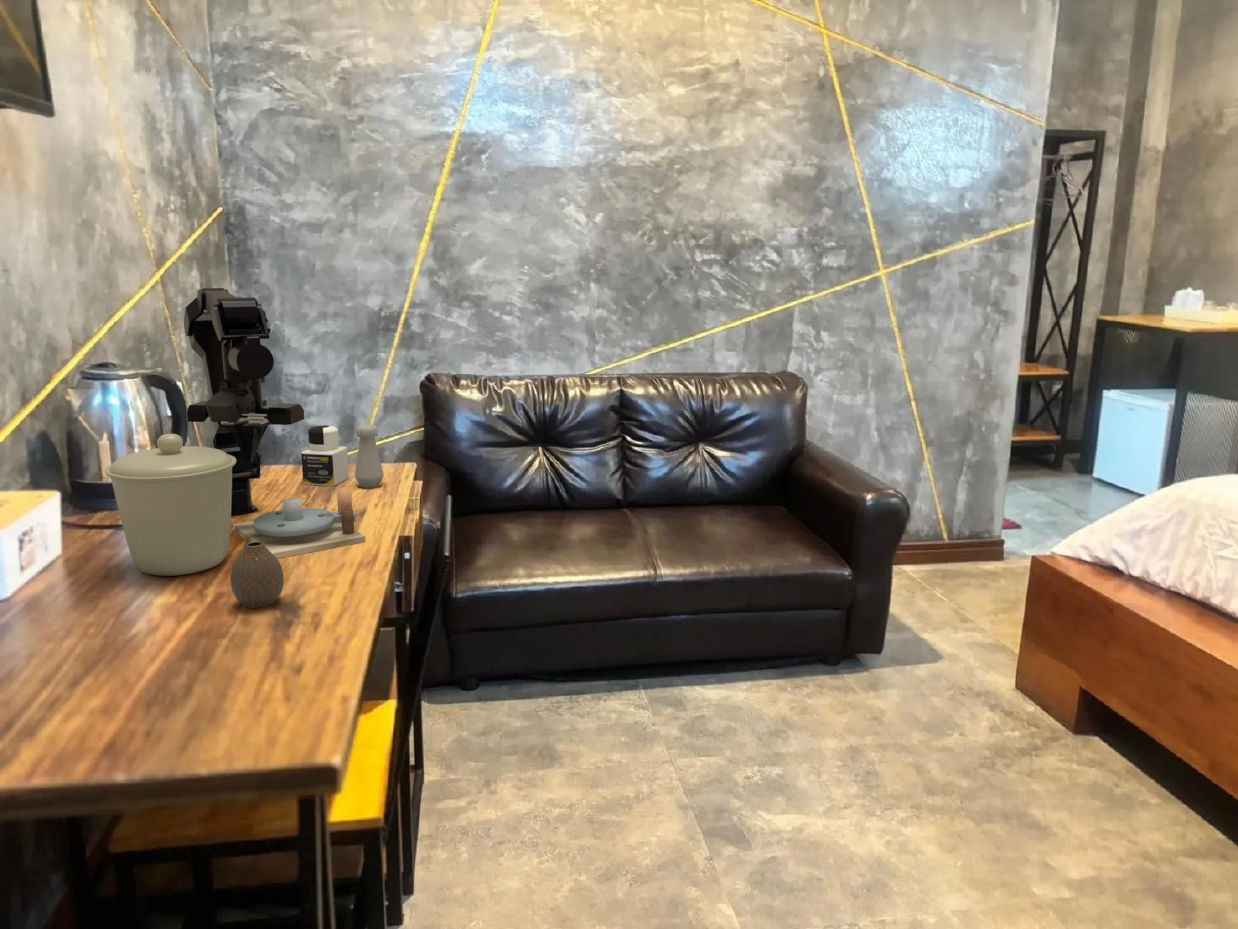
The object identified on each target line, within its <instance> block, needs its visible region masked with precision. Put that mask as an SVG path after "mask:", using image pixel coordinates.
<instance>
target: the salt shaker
mask: <svg viewBox="0 0 1238 929" xmlns="http://www.w3.org/2000/svg"><path fill="white" fill-rule="evenodd" d="M355 432H356V436H357V438H359V439H358V440H359V441H358V448H357V456H356V464H355V473H354V478H355V479H356V481H357V483H358V485H359V487H360V488H362V489H374V488H379V487H380V484H381V482H382V480H383V478H384V475H385V473H384V471H383V466H382V462H381V458H380V454H379V450H378V447H377V441H376V438H375V437H377V436H378V435H379V430H378V427H377V426H376V425H374V424H361V425H359V426H357V428H356V430H355Z"/></svg>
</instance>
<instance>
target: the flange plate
mask: <svg viewBox="0 0 1238 929" xmlns="http://www.w3.org/2000/svg"><path fill="white" fill-rule="evenodd" d="M336 499H337V502H336V503H337V511H329V510H327V509H324V508H323V509H322V508H317V507H303V499H302V498H300V497H289V498H286V499H284V500H283V501H282V502H283V503H282V504H283V509H279V510H273V511H270V512H266V513H263V514H261V515H258V516H257V517H255V518H254V520H253V526H254V531H255V532H257V533H259V534H262V535H267V536H279V537H286V536H299V535H306V534H312V533H316V532H320V531H323V530H325V529H328V528H329V527H331V526H332V525H333V524H335V523H342V520H341V510H343V509H353V500H352V499H353V498H352V490H339V491H337V492H336ZM353 517H354V523H355V522H356V521H357V520H356V513H355V511H354V510H353Z"/></svg>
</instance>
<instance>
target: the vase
mask: <svg viewBox="0 0 1238 929" xmlns="http://www.w3.org/2000/svg"><path fill="white" fill-rule="evenodd" d="M284 579H285V575H284V570H283V567H282V564H281V562H280V561H279V558H278V559H277V558H276V557H275V556H274V555H273V554H272V553H271V552H270V551H269V550H268V549H267V548H266V546H265V545H264V543H263V542H261V541H253V542H247V543H245V545H244V547H243V549H242V552H240V554H239V556H238V557H237V558H236V560H235V561H234V564H233V565H232V568H231V572H230V586H231V591H232V593H233V595H234V597H235V599H236V601H238V602H239V603H240V604H241V605H242V606H244V607H246V608H249V609H258V608H259V609H260V608H265V607H268V606H271V605H273V604H274V603H276V601H277V600H278V598H279V597H280V596H281V594H282V591H283V588H284V584H285V582H284Z"/></svg>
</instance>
